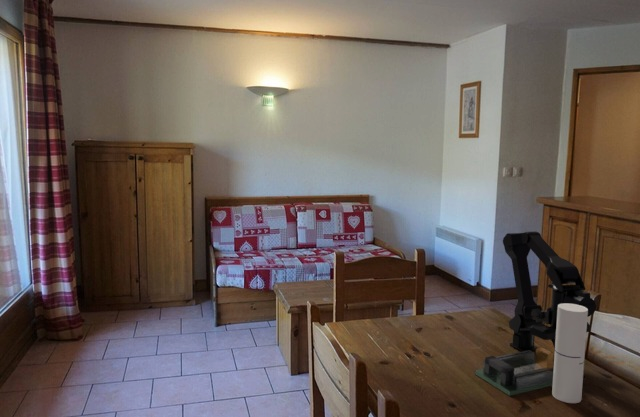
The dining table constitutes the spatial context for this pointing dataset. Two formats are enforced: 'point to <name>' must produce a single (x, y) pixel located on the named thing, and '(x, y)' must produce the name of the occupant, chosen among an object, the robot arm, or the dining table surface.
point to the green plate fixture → (502, 373)
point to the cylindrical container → (569, 352)
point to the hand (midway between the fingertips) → (558, 355)
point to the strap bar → (537, 362)
